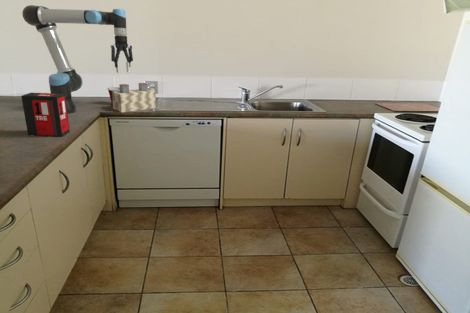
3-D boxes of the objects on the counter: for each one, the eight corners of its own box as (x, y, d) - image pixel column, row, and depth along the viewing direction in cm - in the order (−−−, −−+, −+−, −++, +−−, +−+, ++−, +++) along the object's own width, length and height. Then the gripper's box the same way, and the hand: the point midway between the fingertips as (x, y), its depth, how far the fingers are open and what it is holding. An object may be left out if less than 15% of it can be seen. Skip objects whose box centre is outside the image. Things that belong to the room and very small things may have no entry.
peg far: (142, 97, 233) (141, 83, 229) (139, 96, 235) (138, 83, 232) (147, 96, 235) (147, 83, 232) (144, 95, 238) (144, 82, 235)
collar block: (121, 112, 221) (120, 94, 217) (113, 109, 229) (111, 91, 225) (155, 108, 238) (155, 91, 234) (147, 105, 246) (146, 88, 242)
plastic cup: (114, 107, 235) (113, 89, 231) (105, 104, 241) (104, 87, 237) (127, 105, 243) (126, 88, 239) (118, 102, 249) (117, 86, 245)
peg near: (123, 98, 223) (122, 85, 220) (120, 97, 226) (119, 84, 223) (129, 98, 226) (128, 84, 223) (126, 97, 229) (125, 83, 226)
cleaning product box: (28, 135, 166) (21, 95, 159) (37, 130, 175) (31, 92, 168) (62, 137, 167) (56, 97, 160) (69, 132, 175) (64, 93, 168)
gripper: (108, 35, 203) (111, 73, 211) (137, 36, 216) (139, 72, 224) (103, 34, 208) (106, 72, 216) (131, 35, 221) (133, 71, 229)
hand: (123, 72), depth 220 cm, fingers open, 6 cm apart
